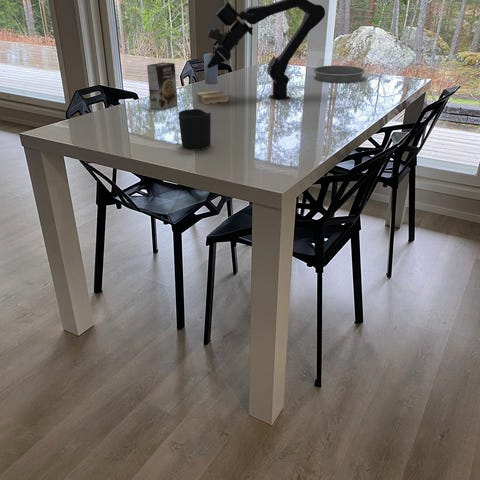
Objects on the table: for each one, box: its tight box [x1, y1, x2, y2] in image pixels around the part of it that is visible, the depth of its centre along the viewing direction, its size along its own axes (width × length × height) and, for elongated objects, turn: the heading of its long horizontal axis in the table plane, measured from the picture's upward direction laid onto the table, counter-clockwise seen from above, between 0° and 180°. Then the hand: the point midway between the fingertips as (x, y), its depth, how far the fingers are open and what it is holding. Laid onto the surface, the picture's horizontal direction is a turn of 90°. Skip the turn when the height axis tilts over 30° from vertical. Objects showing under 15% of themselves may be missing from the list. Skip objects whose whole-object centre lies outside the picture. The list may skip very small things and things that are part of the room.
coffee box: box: [146, 61, 178, 111], centre depth 186 cm, size 9×6×16 cm
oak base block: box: [196, 90, 229, 105], centre depth 198 cm, size 10×10×2 cm
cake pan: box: [313, 64, 366, 84], centre depth 235 cm, size 25×25×4 cm
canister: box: [203, 52, 219, 85], centre depth 193 cm, size 5×5×11 cm
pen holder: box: [178, 108, 212, 150], centre depth 145 cm, size 9×9×10 cm
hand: (207, 66), depth 192 cm, fingers closed on canister, 5 cm apart
